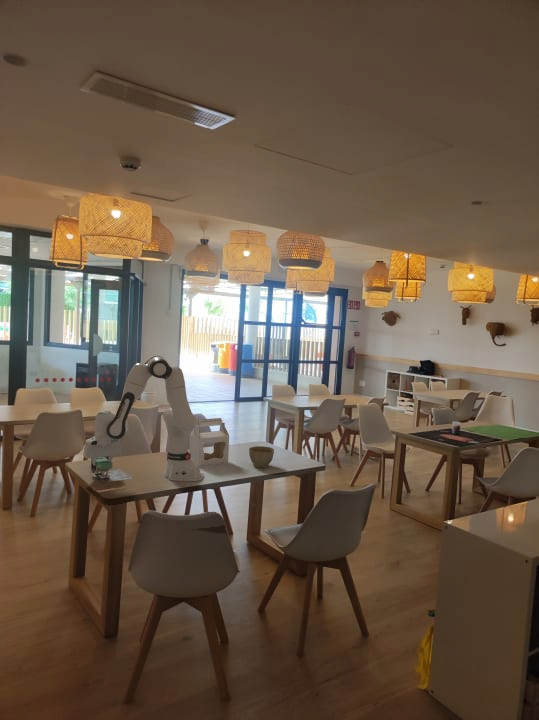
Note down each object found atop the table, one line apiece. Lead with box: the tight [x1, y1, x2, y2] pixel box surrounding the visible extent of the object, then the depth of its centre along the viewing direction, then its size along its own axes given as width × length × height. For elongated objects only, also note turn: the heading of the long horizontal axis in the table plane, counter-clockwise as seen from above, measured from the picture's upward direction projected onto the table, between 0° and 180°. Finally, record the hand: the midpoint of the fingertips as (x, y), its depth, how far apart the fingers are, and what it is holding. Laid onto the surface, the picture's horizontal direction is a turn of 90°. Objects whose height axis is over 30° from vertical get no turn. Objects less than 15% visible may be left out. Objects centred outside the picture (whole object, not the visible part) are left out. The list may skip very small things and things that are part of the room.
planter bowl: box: [248, 445, 275, 469], centre depth 328 cm, size 16×16×11 cm
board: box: [92, 457, 113, 471], centre depth 288 cm, size 14×6×3 cm, turn 37°
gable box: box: [188, 417, 230, 467], centre depth 331 cm, size 22×13×28 cm, turn 125°
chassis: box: [90, 467, 133, 484], centre depth 289 cm, size 20×17×6 cm
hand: (102, 464), depth 288 cm, fingers closed on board, 6 cm apart
